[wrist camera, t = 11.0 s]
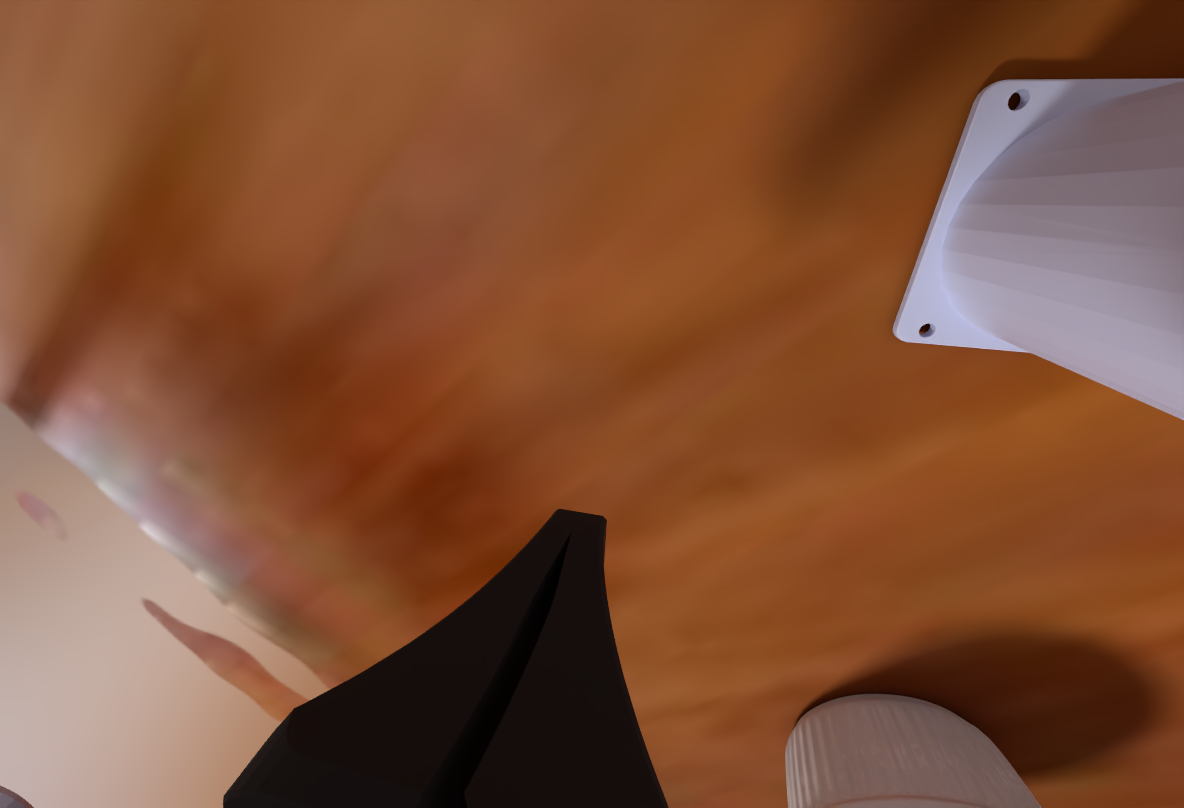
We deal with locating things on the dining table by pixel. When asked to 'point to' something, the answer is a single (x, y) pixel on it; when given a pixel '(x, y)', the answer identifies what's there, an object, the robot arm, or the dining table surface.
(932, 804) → the ramekin
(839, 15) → the dining table surface
